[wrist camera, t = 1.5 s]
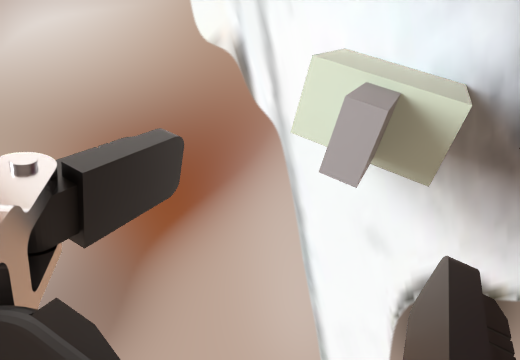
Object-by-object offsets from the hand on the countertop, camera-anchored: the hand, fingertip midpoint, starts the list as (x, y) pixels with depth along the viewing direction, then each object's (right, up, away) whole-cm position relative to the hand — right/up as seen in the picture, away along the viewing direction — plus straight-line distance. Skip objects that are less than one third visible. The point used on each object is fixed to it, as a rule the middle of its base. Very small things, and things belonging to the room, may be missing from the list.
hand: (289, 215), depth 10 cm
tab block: (+9, +7, +17) cm, 21 cm away
